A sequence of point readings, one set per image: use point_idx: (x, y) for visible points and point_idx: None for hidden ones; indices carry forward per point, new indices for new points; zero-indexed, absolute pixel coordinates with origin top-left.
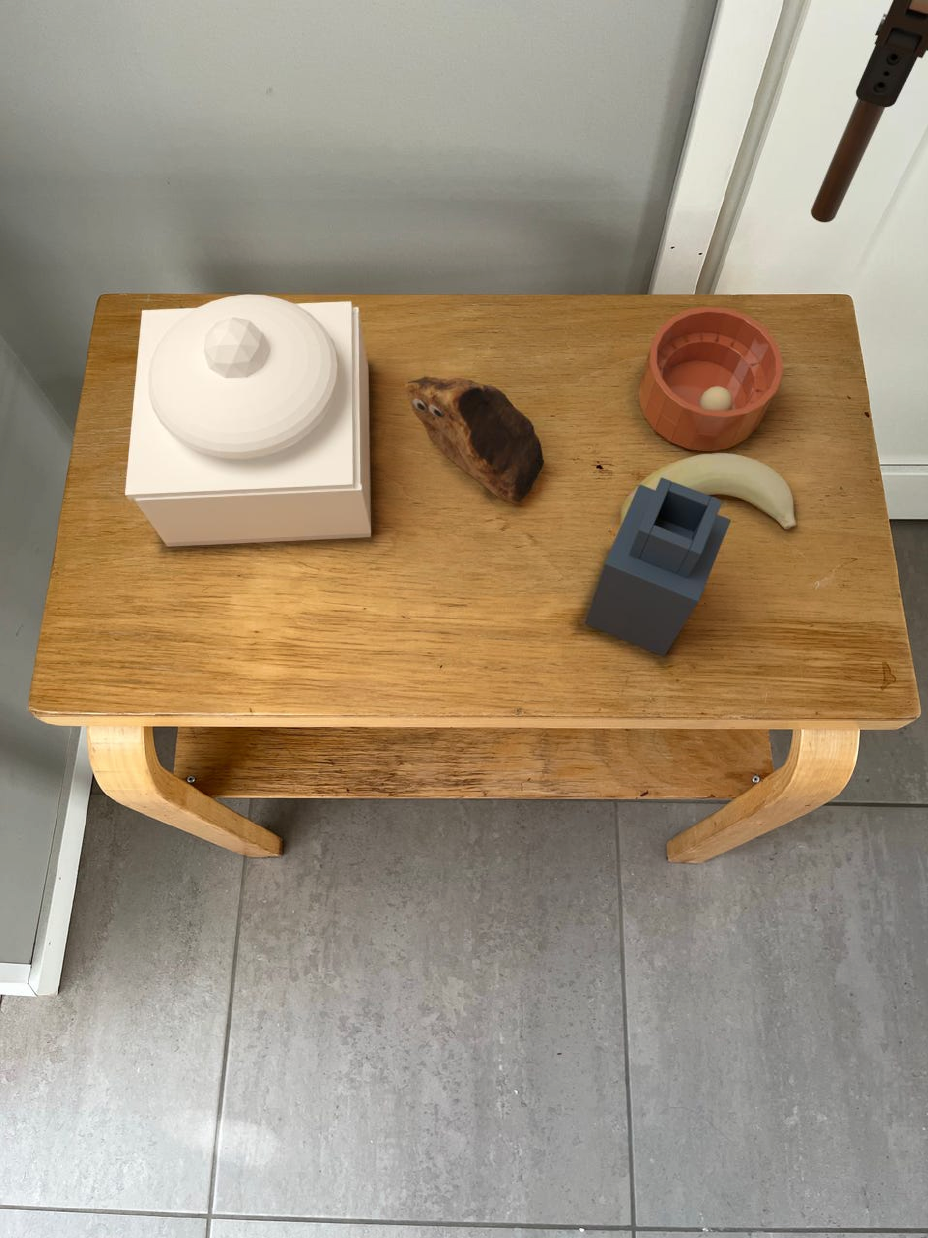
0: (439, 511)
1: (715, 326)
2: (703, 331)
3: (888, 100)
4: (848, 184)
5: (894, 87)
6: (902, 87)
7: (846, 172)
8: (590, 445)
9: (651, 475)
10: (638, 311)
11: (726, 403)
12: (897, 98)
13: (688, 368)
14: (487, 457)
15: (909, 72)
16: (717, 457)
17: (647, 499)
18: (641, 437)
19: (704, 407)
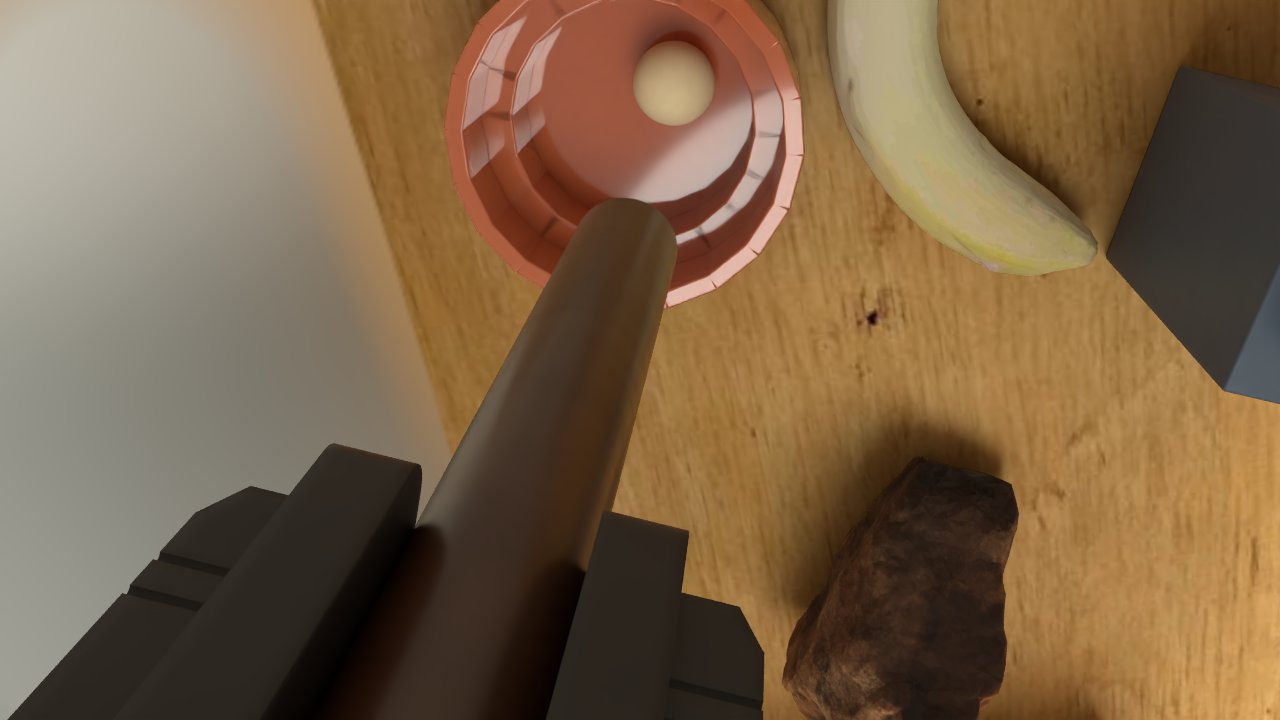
0: (1029, 615)
1: (477, 133)
2: (488, 155)
3: (749, 628)
4: (639, 272)
5: (759, 706)
6: (678, 602)
7: (650, 338)
8: (816, 344)
9: (931, 226)
10: (416, 282)
11: (690, 66)
12: (685, 550)
13: (561, 151)
14: (999, 623)
15: (666, 682)
16: (867, 75)
17: (1272, 366)
18: (774, 234)
19: (700, 115)
